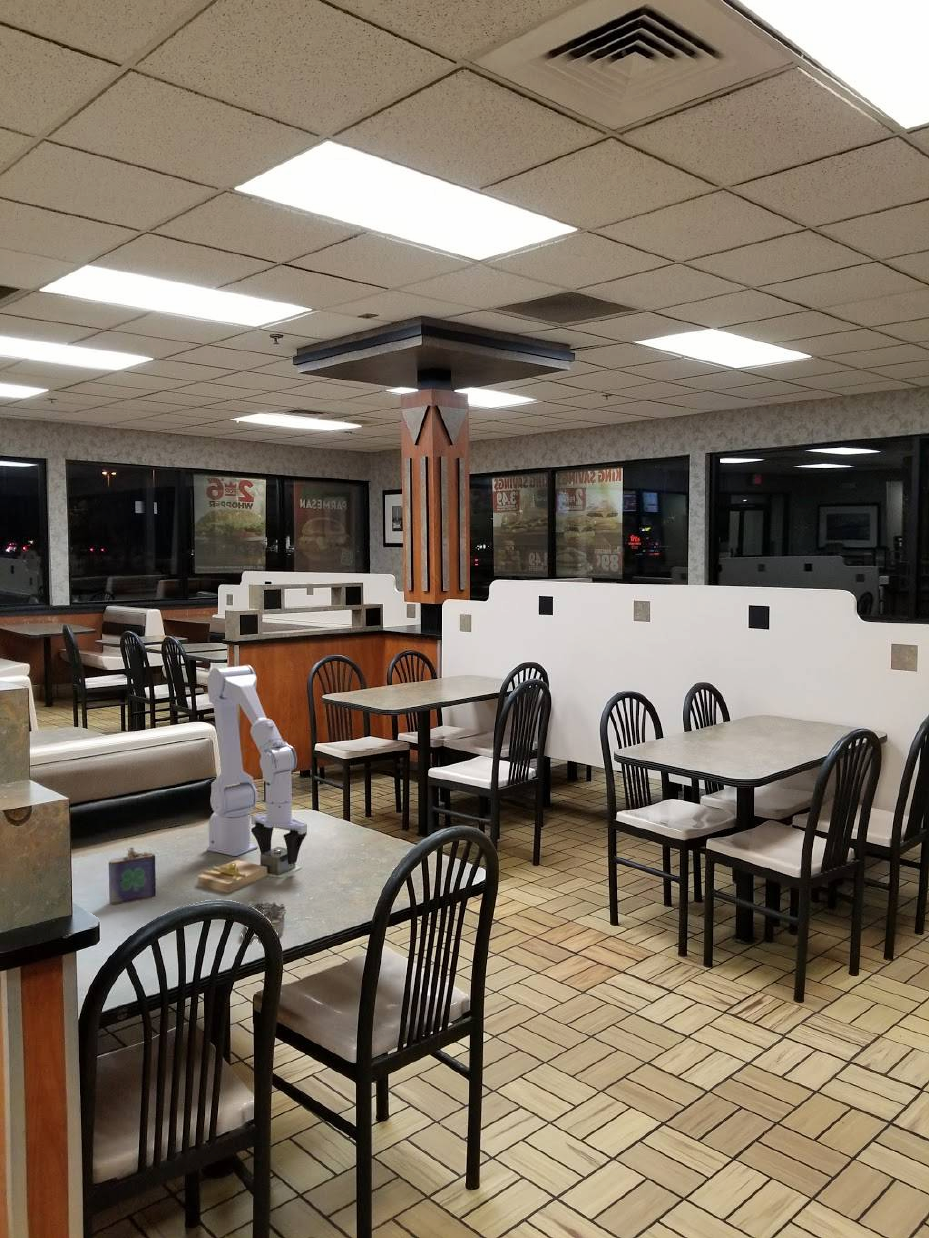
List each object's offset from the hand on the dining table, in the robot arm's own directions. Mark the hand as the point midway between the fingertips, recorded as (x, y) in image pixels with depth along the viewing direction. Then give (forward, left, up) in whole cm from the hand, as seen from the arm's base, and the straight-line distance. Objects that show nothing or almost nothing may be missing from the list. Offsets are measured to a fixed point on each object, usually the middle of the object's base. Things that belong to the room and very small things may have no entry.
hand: (279, 859), depth 212 cm
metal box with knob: (0, 0, -2) cm, 2 cm away
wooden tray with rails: (-4, -10, -2) cm, 11 cm away
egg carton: (+18, -25, -3) cm, 31 cm away
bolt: (-3, -12, 0) cm, 13 cm away
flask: (-14, -28, -3) cm, 32 cm away
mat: (0, 0, -2) cm, 2 cm away
